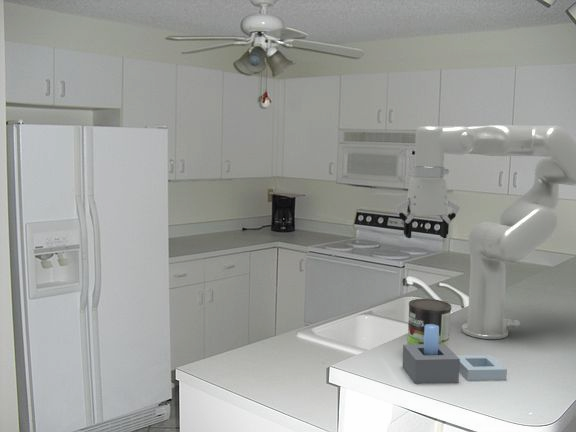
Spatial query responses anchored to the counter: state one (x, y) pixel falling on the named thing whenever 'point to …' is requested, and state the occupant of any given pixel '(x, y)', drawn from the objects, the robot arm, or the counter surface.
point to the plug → (431, 339)
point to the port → (430, 365)
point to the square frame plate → (481, 368)
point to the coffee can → (428, 319)
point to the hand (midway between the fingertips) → (425, 237)
